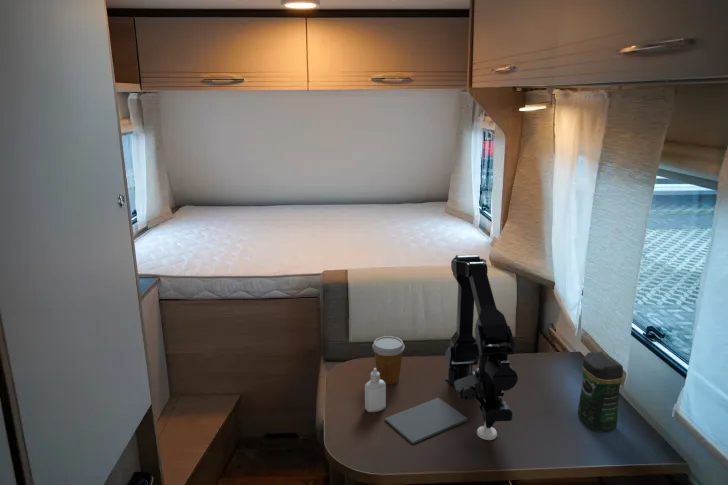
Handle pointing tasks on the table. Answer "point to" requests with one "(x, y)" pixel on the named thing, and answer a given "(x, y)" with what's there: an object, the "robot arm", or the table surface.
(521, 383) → the table surface
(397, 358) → the disposable coffee cup
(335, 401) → the table surface
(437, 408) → the slate mat
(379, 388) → the eye dropper bottle
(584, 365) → the coffee jar
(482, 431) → the chess piece
